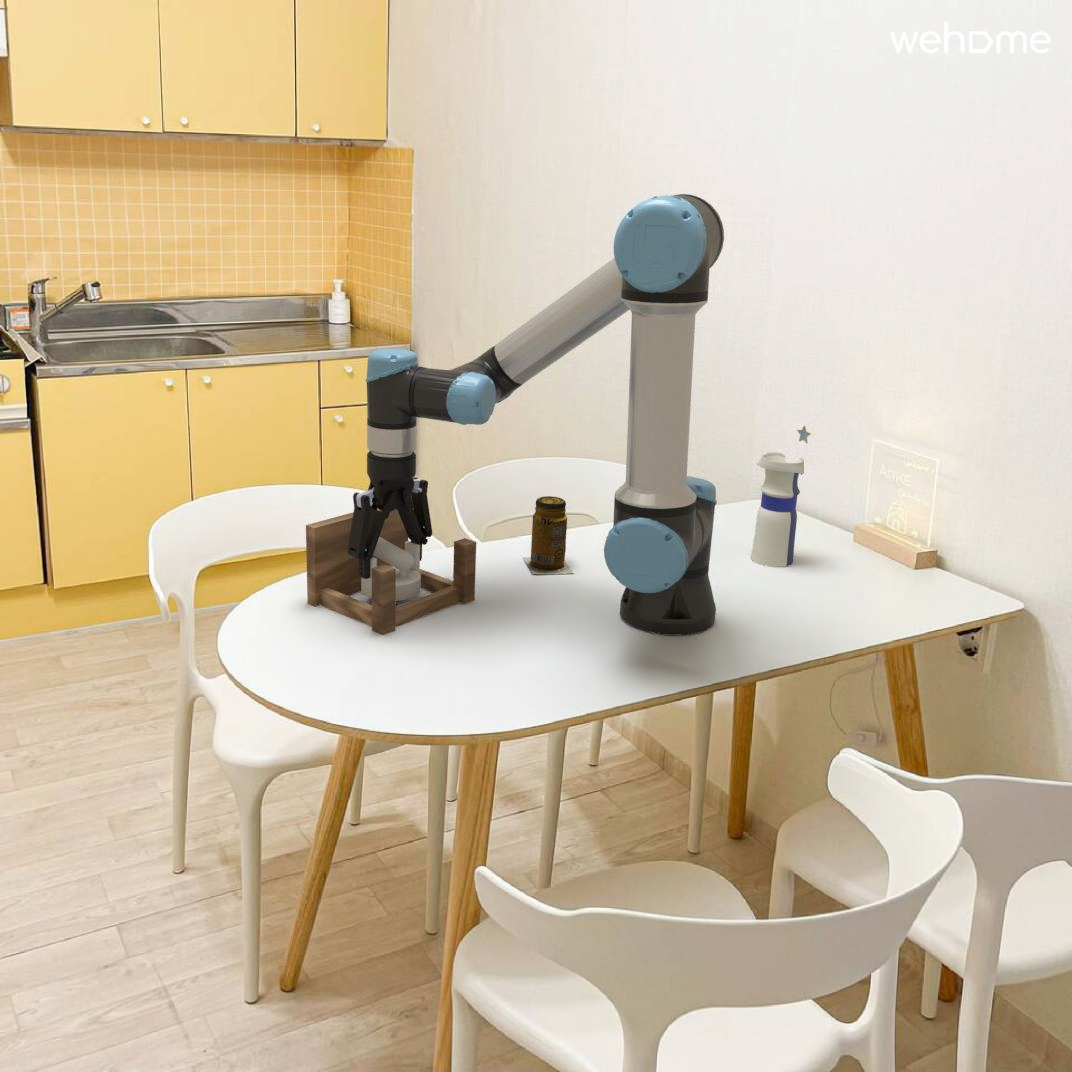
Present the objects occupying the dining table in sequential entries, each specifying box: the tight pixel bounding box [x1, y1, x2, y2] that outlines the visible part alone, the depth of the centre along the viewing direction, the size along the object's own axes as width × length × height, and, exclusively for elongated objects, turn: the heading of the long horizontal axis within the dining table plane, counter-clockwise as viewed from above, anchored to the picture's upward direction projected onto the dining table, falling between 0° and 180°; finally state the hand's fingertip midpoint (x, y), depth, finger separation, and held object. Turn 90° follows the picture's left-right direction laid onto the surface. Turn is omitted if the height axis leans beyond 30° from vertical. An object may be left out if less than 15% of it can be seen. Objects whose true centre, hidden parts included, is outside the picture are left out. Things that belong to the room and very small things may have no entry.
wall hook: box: [365, 537, 422, 601], centre depth 183 cm, size 9×10×10 cm
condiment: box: [522, 495, 574, 575], centre depth 202 cm, size 7×8×12 cm
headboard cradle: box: [305, 508, 477, 636], centre depth 183 cm, size 18×20×13 cm
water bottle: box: [750, 424, 812, 568], centre depth 208 cm, size 8×8×25 cm
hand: (390, 588), depth 185 cm, fingers closed on wall hook, 9 cm apart
